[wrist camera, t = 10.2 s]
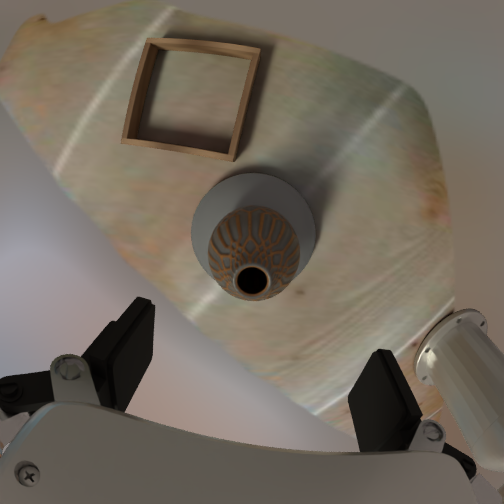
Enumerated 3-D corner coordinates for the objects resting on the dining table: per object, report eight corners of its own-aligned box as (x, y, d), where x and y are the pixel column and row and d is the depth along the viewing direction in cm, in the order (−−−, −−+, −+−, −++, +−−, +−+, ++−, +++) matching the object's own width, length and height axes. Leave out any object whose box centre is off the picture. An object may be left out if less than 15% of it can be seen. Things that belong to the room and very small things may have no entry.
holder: (260, 56, 21) (260, 48, 19) (235, 161, 24) (232, 162, 22) (155, 45, 20) (147, 38, 18) (131, 143, 24) (120, 143, 22)
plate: (327, 189, 25) (330, 191, 24) (294, 297, 29) (296, 303, 27) (206, 161, 24) (203, 161, 23) (186, 273, 28) (183, 278, 27)
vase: (291, 195, 24) (307, 219, 16) (296, 270, 26) (311, 324, 18) (210, 203, 24) (185, 231, 16) (221, 277, 27) (205, 332, 19)
